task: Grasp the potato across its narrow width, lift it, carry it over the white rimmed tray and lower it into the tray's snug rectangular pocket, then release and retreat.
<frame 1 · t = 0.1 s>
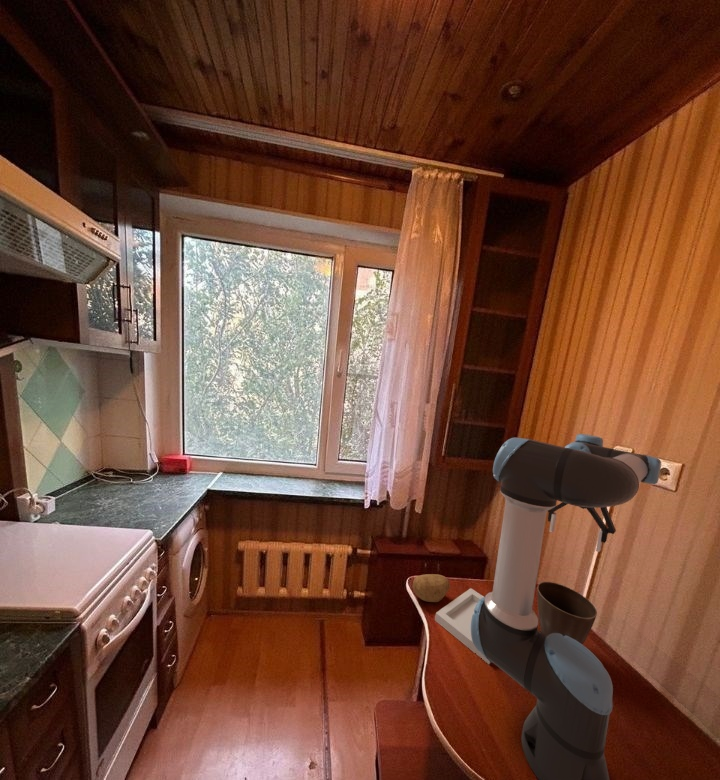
hand: (573, 540, 104), 28 cm above the table, fingers open, 13 cm apart
white rimmed tray: (478, 624, 98), on the table
plant pot: (557, 649, 92), on the table
potato: (429, 599, 107), on the table
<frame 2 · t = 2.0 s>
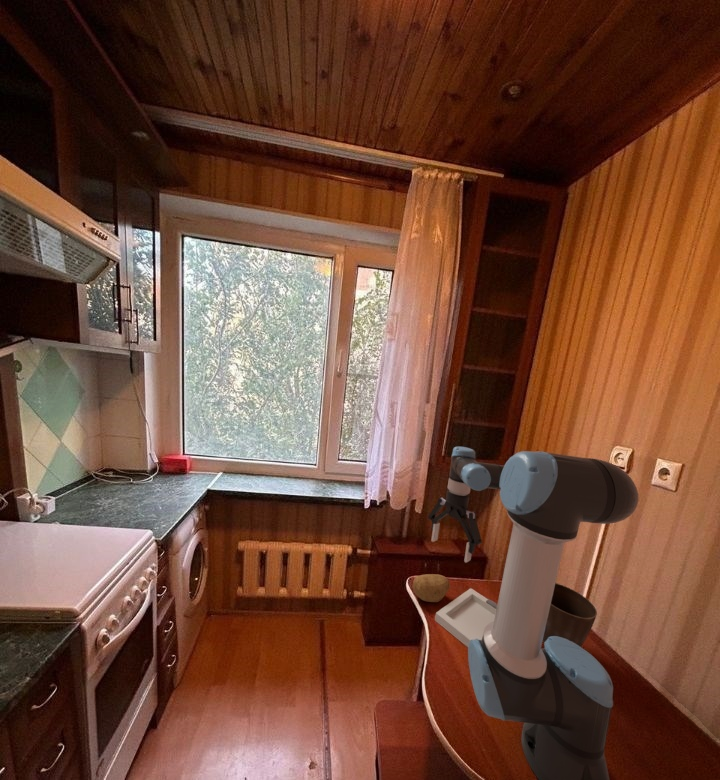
hand: (450, 550, 107), 18 cm above the table, fingers open, 13 cm apart
nothing on the table moved.
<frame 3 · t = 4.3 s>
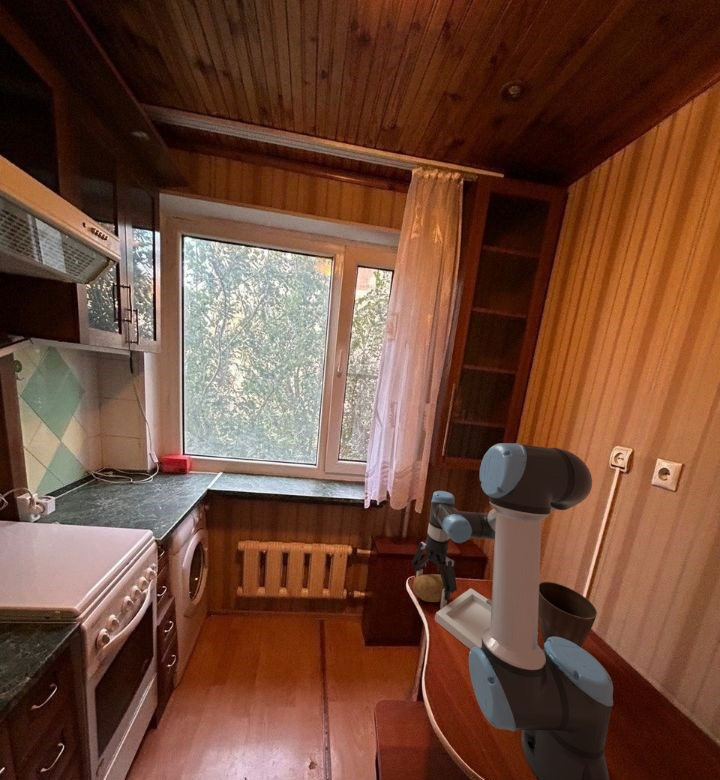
hand: (429, 597, 107), 0 cm above the table, fingers closed on potato, 10 cm apart
potato: (430, 599, 107), on the table, touching gripper
everything else where it was.
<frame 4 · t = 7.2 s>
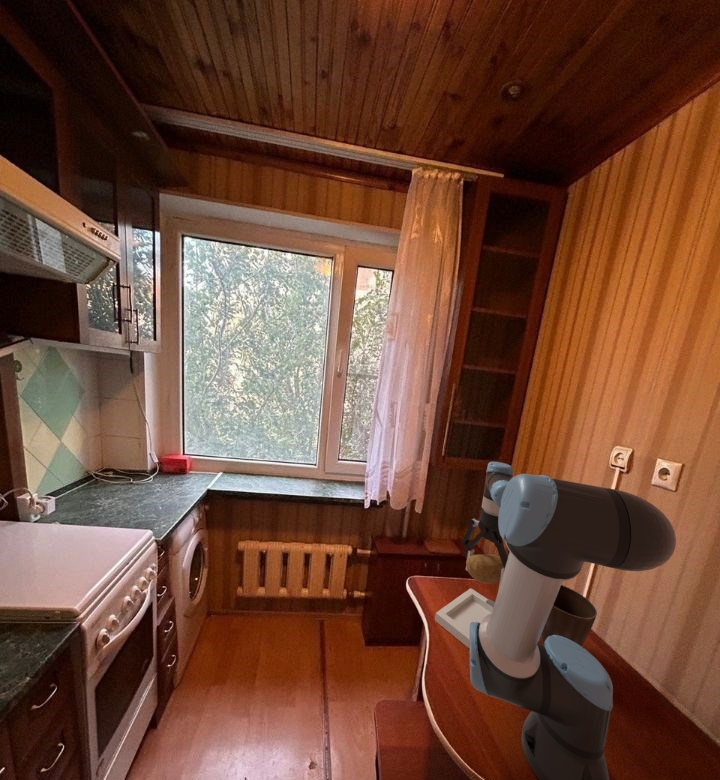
hand: (484, 578, 97), 15 cm above the table, fingers closed on potato, 10 cm apart
potato: (484, 580, 97), point 15 cm above the table, touching gripper
everything else where it was.
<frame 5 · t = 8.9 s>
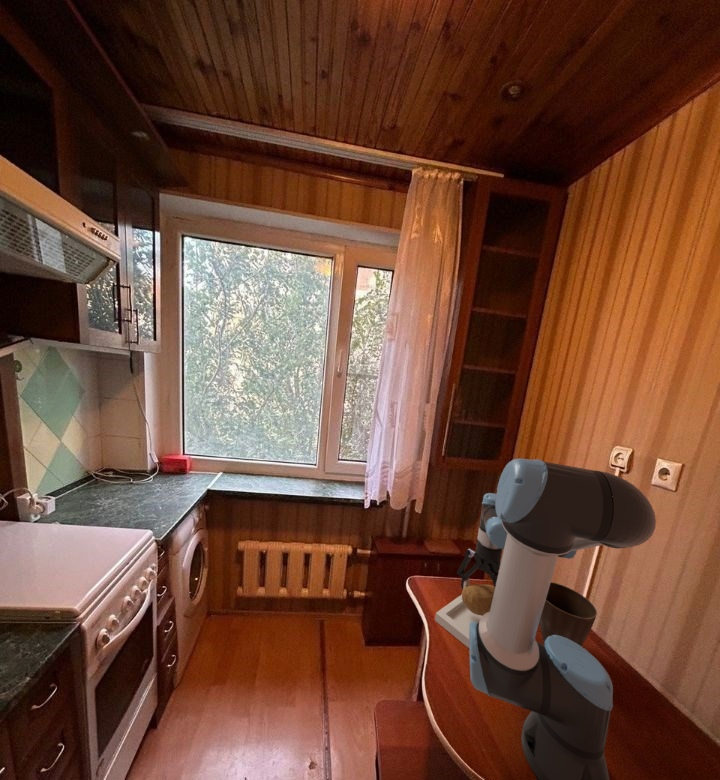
hand: (480, 609, 98), 5 cm above the table, fingers closed on potato, 10 cm apart
potato: (480, 611, 97), point 4 cm above the table, touching gripper
everything else where it was.
when the fingers open (4 cm above the table, at t = 9.8 s): potato drops 3 cm, resting on white rimmed tray.
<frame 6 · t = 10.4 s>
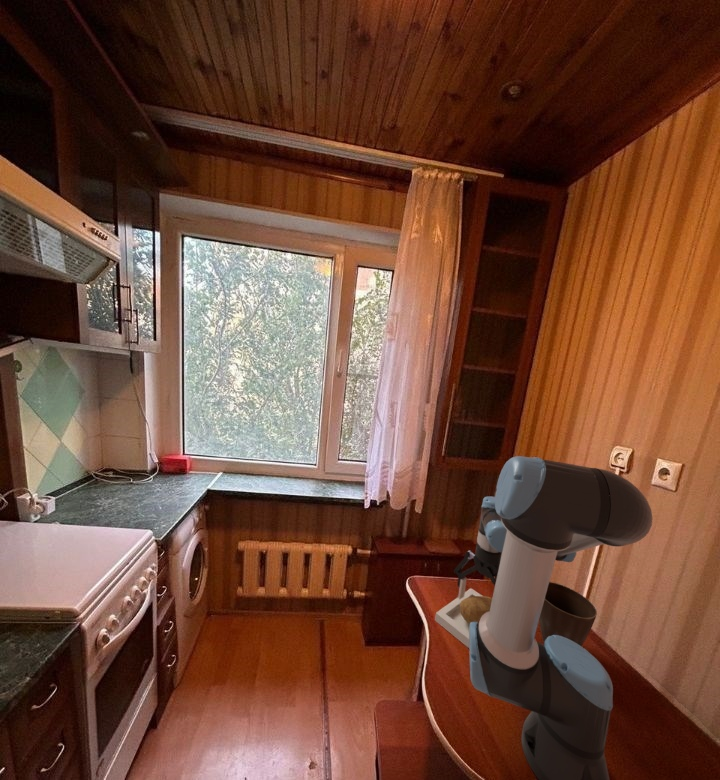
hand: (480, 610, 97), 5 cm above the table, fingers open, 13 cm apart
potato: (478, 624, 98), resting on white rimmed tray
everything else where it was.
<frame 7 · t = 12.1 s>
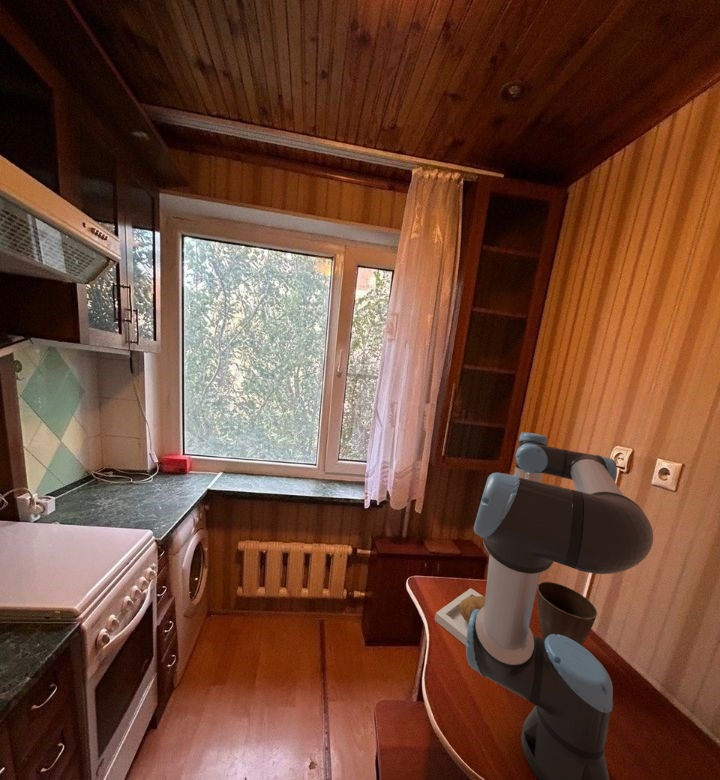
hand: (517, 549, 95), 27 cm above the table, fingers open, 13 cm apart
nothing on the table moved.
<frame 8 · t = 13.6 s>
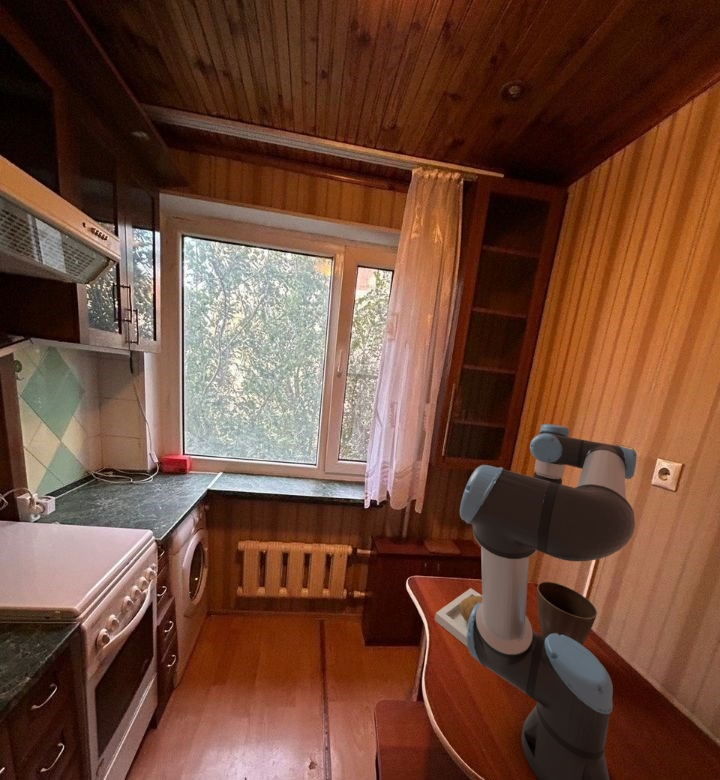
hand: (537, 542, 94), 31 cm above the table, fingers open, 13 cm apart
nothing on the table moved.
at the end: potato inside the target area on the white rimmed tray (0.1 cm from its centre), point 0.3 cm above the white rimmed tray's base; the gripper is holding nothing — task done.
